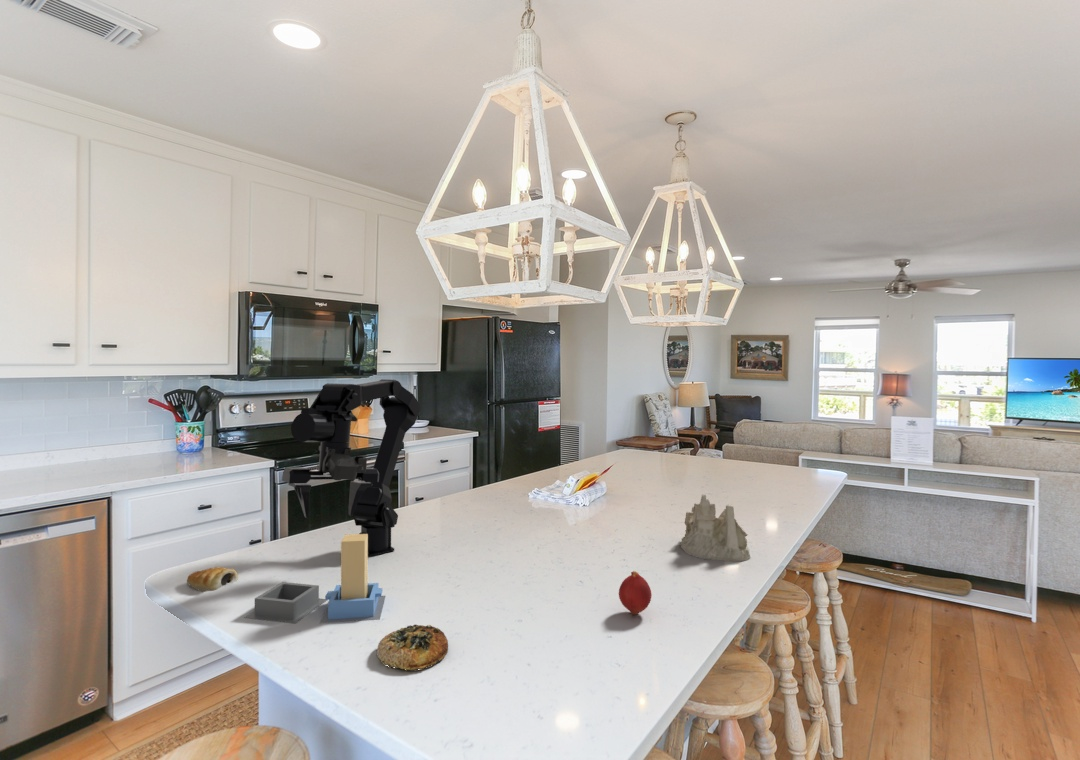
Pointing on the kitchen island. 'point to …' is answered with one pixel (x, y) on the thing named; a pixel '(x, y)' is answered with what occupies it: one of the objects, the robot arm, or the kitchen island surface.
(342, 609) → the blue bezel socket
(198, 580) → the pastry
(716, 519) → the grey sandcastle model
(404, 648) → the bread roll
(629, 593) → the onion
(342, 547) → the tall tan pillar
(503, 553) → the kitchen island surface
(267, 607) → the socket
